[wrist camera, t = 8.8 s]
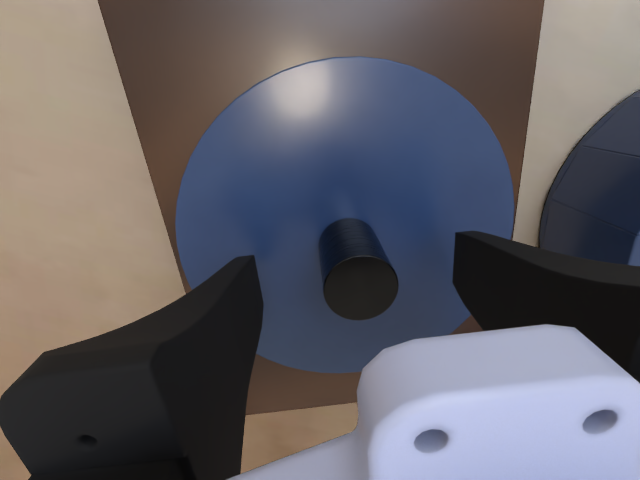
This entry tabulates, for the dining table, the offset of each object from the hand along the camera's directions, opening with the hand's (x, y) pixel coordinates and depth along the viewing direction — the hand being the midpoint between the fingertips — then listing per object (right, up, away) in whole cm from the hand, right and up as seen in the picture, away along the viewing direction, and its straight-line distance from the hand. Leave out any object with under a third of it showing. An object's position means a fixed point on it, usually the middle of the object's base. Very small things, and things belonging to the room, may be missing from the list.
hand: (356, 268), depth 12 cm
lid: (0, +1, +2) cm, 2 cm away
